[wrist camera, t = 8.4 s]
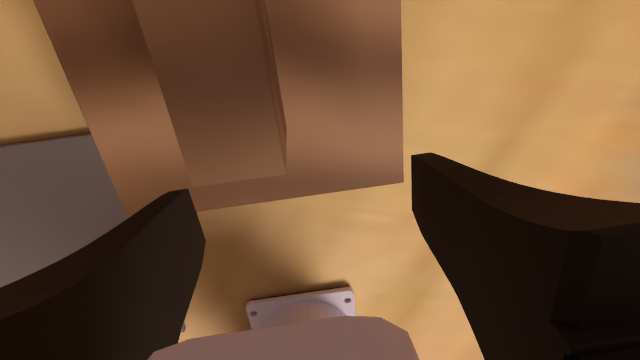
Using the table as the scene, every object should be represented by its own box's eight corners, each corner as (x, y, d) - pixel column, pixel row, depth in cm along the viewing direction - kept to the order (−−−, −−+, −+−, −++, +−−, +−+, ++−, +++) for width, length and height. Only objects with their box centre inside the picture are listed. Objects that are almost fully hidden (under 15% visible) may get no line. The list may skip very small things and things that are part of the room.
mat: (185, 327, 28) (184, 331, 28) (-24, 357, 28) (-28, 362, 28) (103, 130, 21) (100, 133, 21) (-182, 170, 21) (-190, 173, 20)
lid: (398, 172, 18) (437, 240, 14) (137, 209, 18) (81, 290, 13) (389, -174, 12) (455, -278, 7) (-2, -122, 12) (-193, -194, 7)
